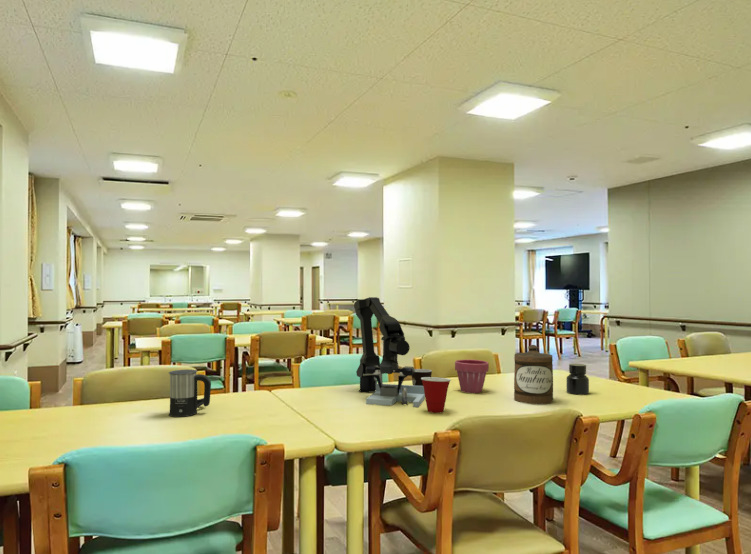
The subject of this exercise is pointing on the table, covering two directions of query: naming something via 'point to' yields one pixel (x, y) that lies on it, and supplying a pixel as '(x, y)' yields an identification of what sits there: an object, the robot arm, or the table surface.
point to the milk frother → (187, 392)
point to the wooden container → (533, 377)
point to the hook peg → (404, 395)
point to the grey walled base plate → (413, 395)
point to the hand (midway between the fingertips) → (389, 392)
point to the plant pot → (471, 374)
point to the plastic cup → (435, 393)
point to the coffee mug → (420, 376)
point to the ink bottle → (577, 379)
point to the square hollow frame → (389, 391)
